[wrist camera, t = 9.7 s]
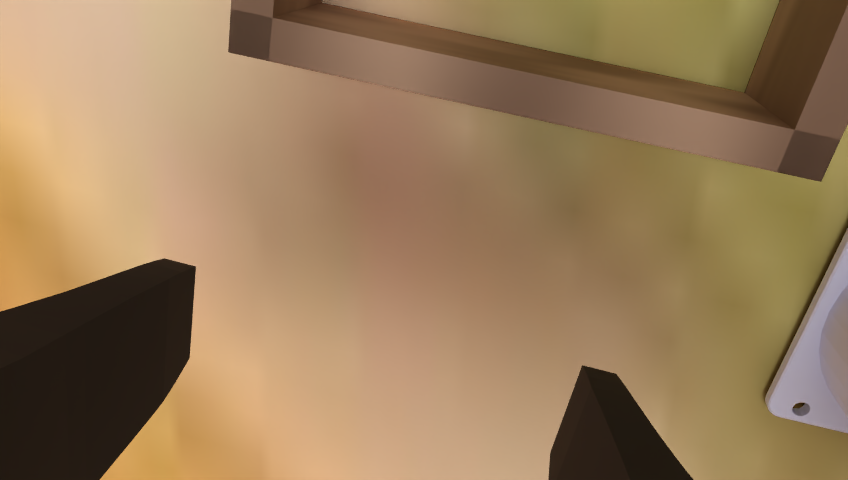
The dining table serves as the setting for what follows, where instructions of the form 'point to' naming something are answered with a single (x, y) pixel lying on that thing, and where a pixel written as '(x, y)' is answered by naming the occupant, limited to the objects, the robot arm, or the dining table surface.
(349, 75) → the walnut crate
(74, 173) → the dining table surface
